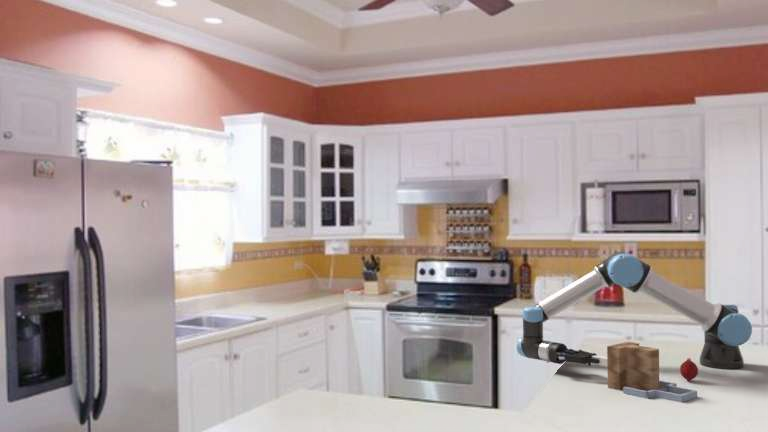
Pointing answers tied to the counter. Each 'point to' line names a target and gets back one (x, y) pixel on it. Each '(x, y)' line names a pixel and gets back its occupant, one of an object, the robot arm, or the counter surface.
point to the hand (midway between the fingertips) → (609, 362)
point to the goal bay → (670, 387)
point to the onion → (688, 370)
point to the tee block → (632, 366)
